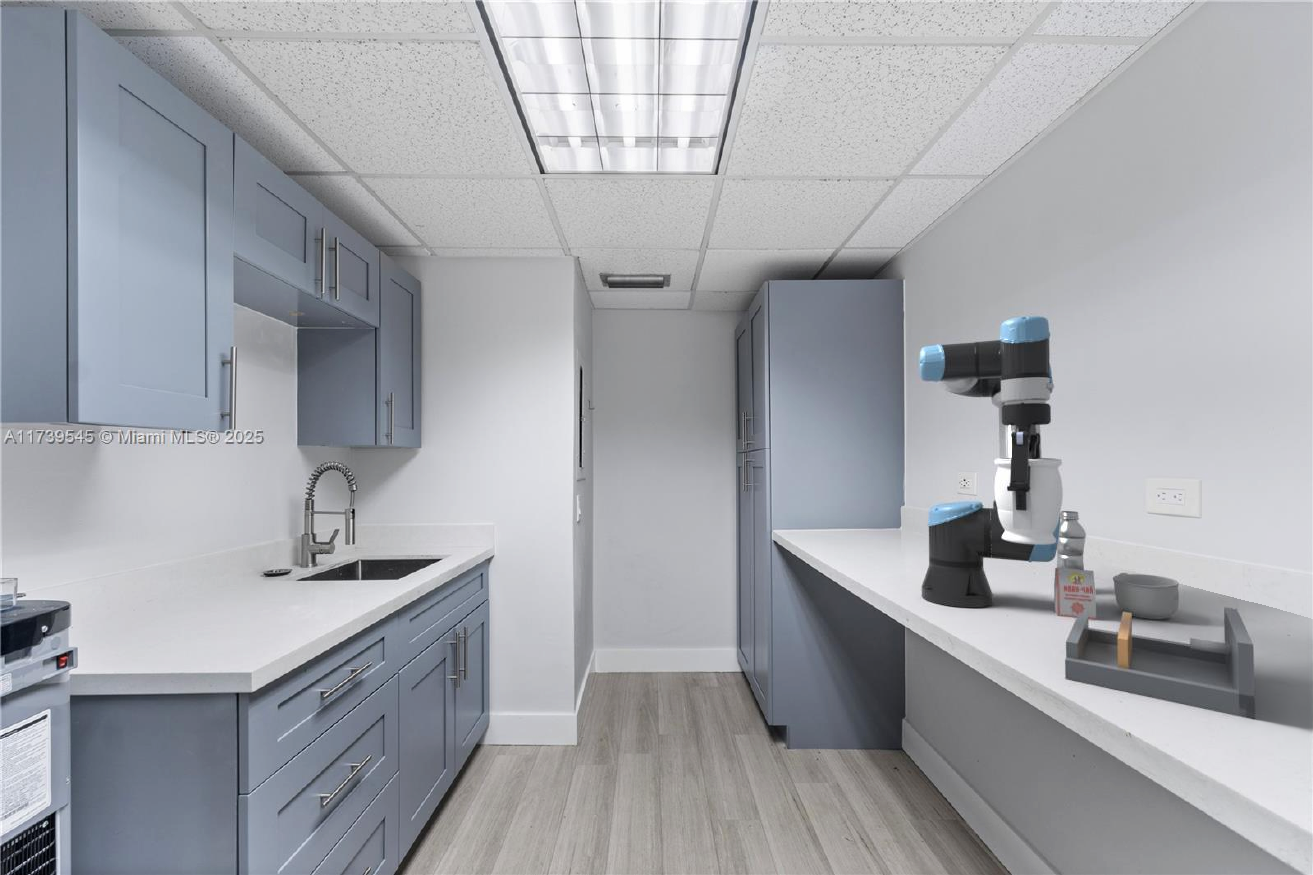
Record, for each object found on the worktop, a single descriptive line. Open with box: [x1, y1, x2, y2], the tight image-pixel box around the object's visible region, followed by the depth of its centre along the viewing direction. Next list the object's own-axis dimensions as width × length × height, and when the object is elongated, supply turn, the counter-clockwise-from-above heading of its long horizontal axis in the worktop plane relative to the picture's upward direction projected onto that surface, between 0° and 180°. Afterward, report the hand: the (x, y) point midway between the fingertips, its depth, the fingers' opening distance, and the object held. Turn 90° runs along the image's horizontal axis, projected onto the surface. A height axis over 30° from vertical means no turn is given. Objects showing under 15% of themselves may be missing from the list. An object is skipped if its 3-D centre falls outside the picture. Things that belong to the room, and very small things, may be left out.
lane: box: [1064, 606, 1256, 720], centre depth 93 cm, size 21×22×10 cm
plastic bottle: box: [1054, 510, 1087, 581], centre depth 145 cm, size 6×7×20 cm
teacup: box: [1112, 572, 1180, 620], centre depth 126 cm, size 14×11×8 cm
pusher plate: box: [1117, 611, 1133, 669], centre depth 95 cm, size 1×18×6 cm, turn 139°
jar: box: [994, 457, 1064, 545], centre depth 105 cm, size 11×10×15 cm
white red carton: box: [1053, 567, 1097, 621], centre depth 125 cm, size 4×7×10 cm, turn 63°
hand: (1027, 525), depth 104 cm, fingers closed on jar, 10 cm apart
